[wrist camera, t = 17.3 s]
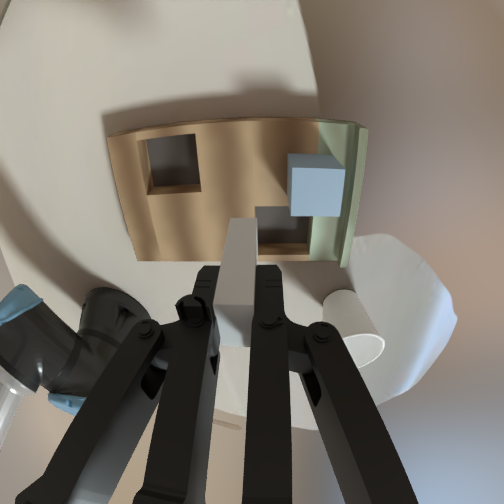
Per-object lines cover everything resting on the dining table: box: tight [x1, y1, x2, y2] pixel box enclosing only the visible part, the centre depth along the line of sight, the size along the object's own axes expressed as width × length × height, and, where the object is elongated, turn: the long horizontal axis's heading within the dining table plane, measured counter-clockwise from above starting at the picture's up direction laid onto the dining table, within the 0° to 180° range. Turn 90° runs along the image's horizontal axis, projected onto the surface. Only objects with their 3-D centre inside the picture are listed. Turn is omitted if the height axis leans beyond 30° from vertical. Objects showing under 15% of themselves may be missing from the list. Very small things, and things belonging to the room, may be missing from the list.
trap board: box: [107, 117, 368, 268], centre depth 32 cm, size 29×18×4 cm, turn 92°
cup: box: [323, 290, 385, 368], centre depth 40 cm, size 10×10×11 cm
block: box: [287, 153, 345, 217], centre depth 27 cm, size 5×5×5 cm
